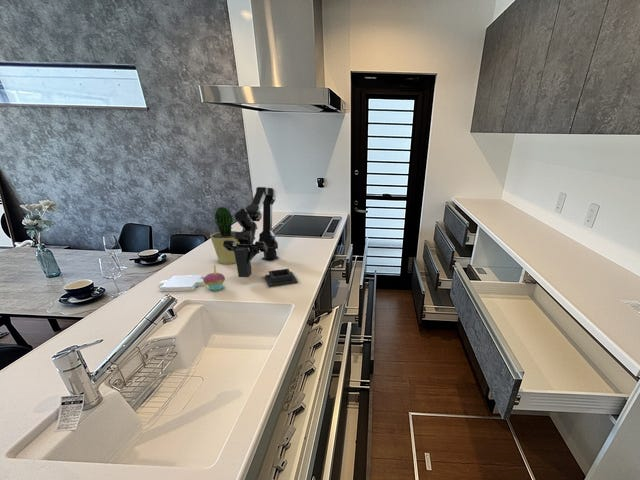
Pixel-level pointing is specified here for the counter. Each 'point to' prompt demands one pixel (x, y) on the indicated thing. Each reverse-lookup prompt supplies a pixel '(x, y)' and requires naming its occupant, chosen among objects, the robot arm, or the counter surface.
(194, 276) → the mounting plate
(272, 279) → the socket pad
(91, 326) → the counter surface
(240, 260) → the post
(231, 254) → the potted cactus
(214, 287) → the cupcake
